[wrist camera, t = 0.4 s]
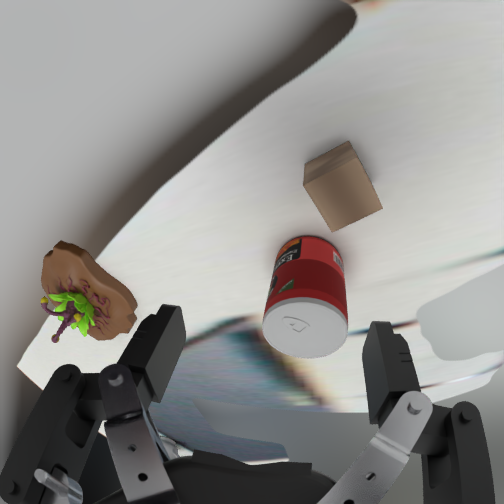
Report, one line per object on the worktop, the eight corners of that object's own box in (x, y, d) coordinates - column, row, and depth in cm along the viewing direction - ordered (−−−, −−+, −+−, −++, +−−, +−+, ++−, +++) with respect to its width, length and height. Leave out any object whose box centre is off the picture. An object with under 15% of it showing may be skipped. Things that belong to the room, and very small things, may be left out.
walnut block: (348, 140, 27) (357, 157, 22) (371, 183, 28) (383, 208, 24) (304, 163, 29) (303, 185, 24) (329, 203, 31) (332, 232, 26)
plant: (39, 280, 50) (7, 316, 41) (61, 223, 40) (15, 265, 31) (111, 343, 56) (86, 385, 46) (154, 307, 46) (123, 361, 37)
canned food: (288, 224, 33) (276, 290, 24) (354, 248, 33) (364, 318, 24) (267, 275, 37) (251, 345, 28) (327, 295, 37) (326, 366, 28)
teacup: (197, 448, 84) (190, 473, 76) (168, 446, 90) (160, 468, 82) (173, 433, 79) (163, 459, 71) (145, 431, 86) (135, 454, 77)
